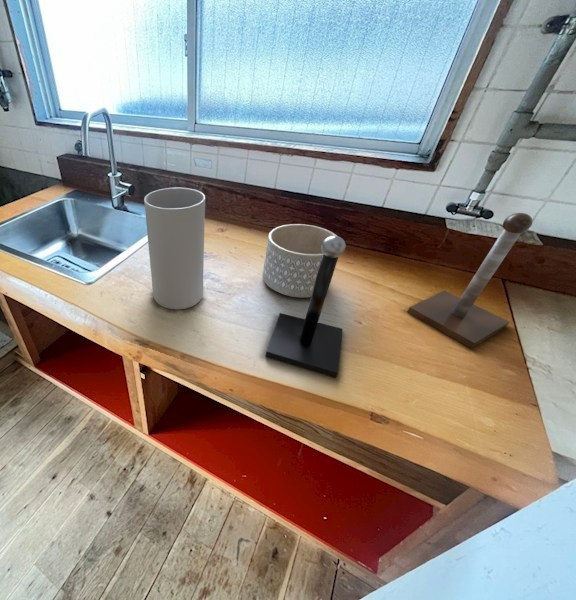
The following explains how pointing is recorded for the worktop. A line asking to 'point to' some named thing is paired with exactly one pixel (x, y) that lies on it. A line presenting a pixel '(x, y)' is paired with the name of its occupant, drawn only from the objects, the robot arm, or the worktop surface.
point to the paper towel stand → (472, 294)
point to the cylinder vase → (176, 245)
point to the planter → (294, 258)
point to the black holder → (311, 324)
